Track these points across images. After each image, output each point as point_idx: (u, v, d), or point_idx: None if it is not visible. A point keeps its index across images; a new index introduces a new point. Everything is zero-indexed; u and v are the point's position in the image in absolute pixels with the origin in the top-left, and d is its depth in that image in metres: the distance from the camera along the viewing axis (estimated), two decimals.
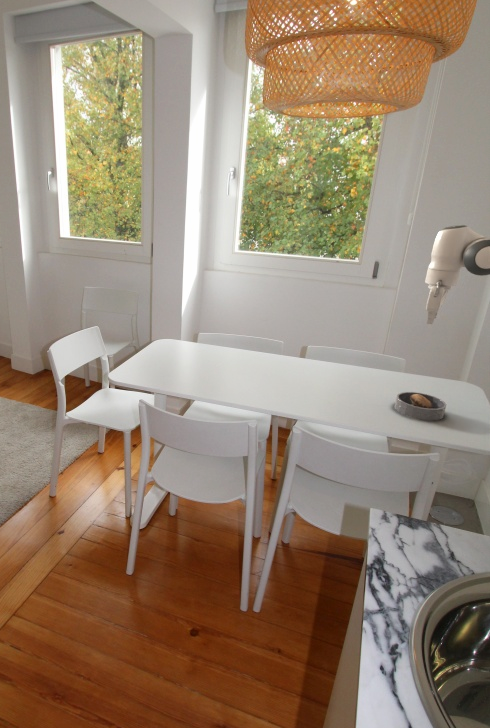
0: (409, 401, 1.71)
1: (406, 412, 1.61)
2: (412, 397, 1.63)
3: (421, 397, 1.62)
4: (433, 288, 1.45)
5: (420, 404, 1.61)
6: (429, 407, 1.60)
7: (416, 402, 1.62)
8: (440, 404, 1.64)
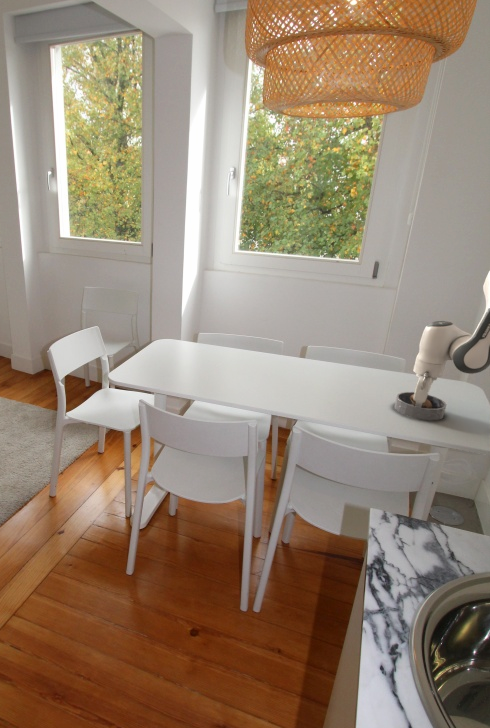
0: (409, 401, 1.71)
1: (406, 412, 1.61)
2: (412, 397, 1.63)
3: None
4: (420, 380, 1.54)
5: None
6: (429, 407, 1.60)
7: None
8: (440, 404, 1.64)
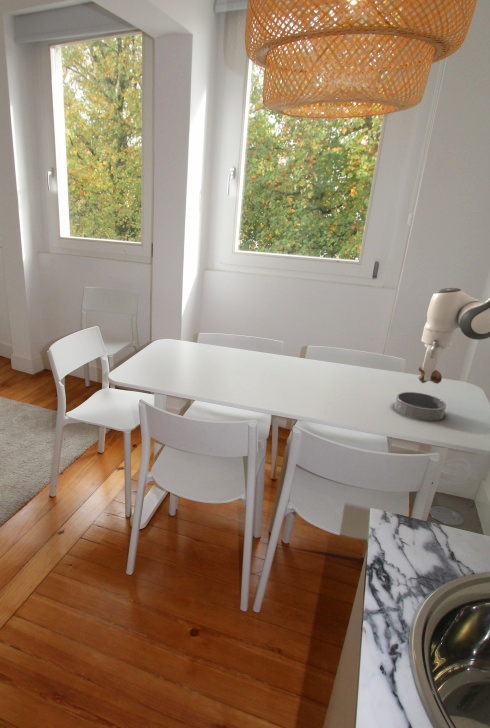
0: (409, 401, 1.71)
1: (406, 412, 1.61)
2: (421, 368, 1.59)
3: None
4: (429, 349, 1.50)
5: None
6: (439, 378, 1.56)
7: None
8: (440, 404, 1.64)
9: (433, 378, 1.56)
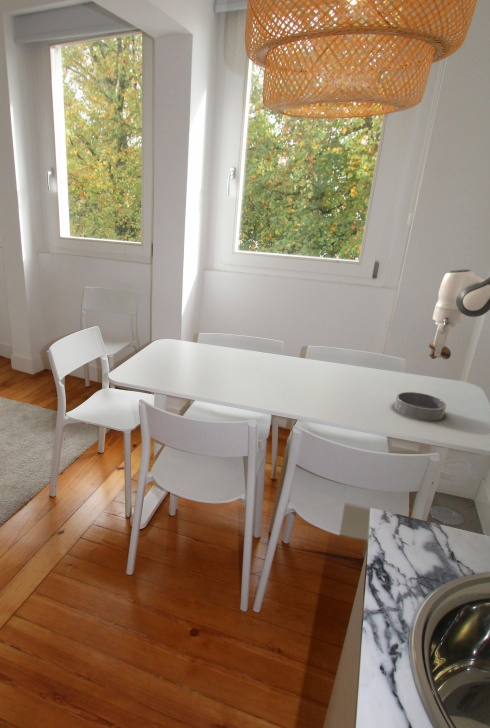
0: (409, 401, 1.71)
1: (406, 412, 1.61)
2: (431, 345, 1.70)
3: None
4: (440, 326, 1.61)
5: None
6: (448, 353, 1.67)
7: None
8: (440, 404, 1.64)
9: (443, 354, 1.67)
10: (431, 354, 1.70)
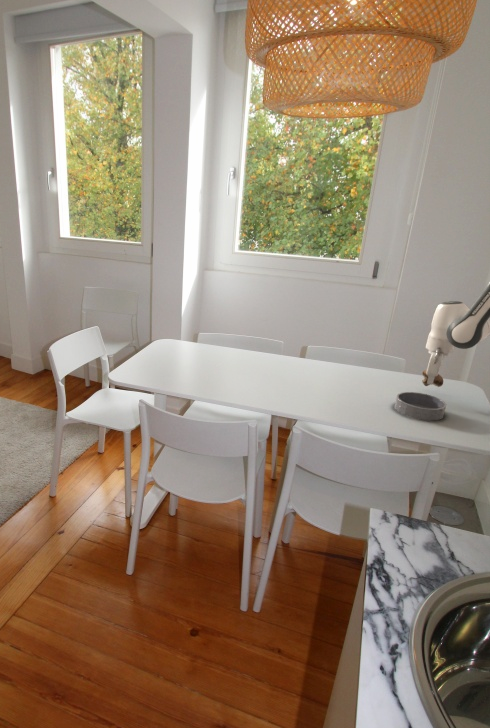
0: (409, 401, 1.71)
1: (406, 412, 1.61)
2: (424, 372, 1.75)
3: None
4: (433, 355, 1.66)
5: None
6: (441, 381, 1.72)
7: None
8: (440, 404, 1.64)
9: (435, 382, 1.72)
10: (424, 381, 1.75)
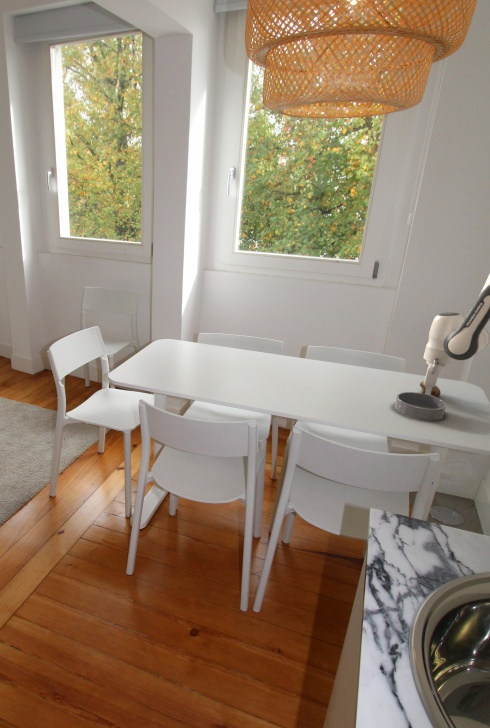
0: (409, 401, 1.71)
1: (406, 412, 1.61)
2: (422, 384, 1.77)
3: None
4: (430, 366, 1.67)
5: None
6: (438, 393, 1.74)
7: None
8: (440, 404, 1.64)
9: (433, 393, 1.74)
10: None
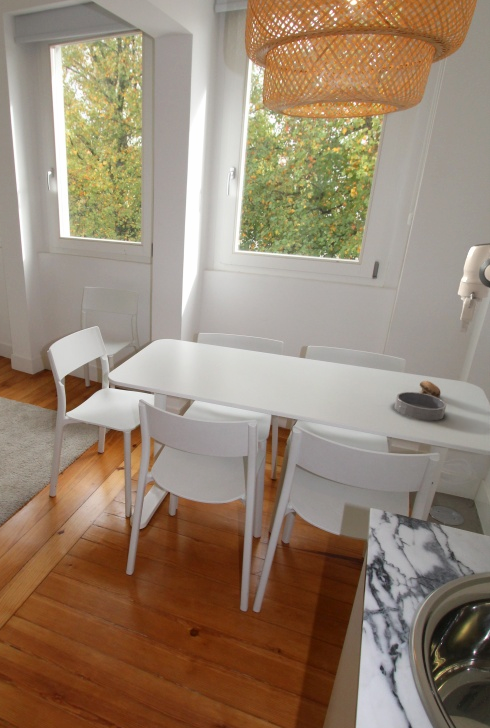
0: (409, 401, 1.71)
1: (406, 412, 1.61)
2: (422, 384, 1.77)
3: (430, 384, 1.75)
4: (467, 300, 1.59)
5: (430, 390, 1.74)
6: (438, 393, 1.74)
7: (426, 388, 1.75)
8: (440, 404, 1.64)
9: (433, 393, 1.74)
10: None
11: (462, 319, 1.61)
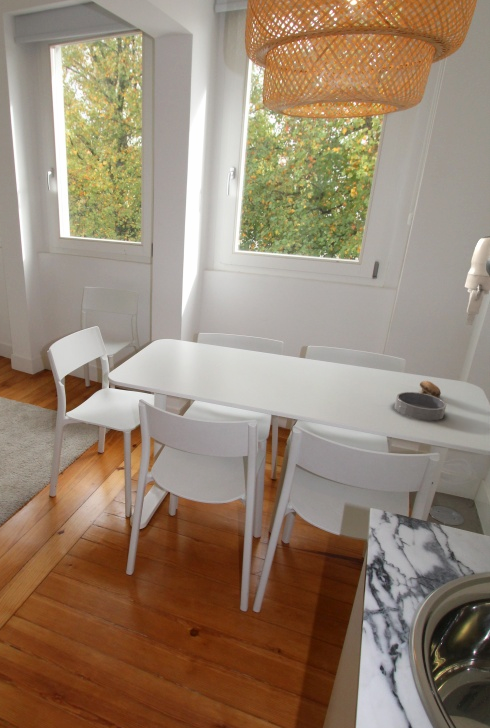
0: (409, 401, 1.71)
1: (406, 412, 1.61)
2: (422, 384, 1.77)
3: (430, 384, 1.75)
4: (474, 292, 1.58)
5: (430, 390, 1.74)
6: (438, 393, 1.74)
7: (426, 388, 1.75)
8: (440, 404, 1.64)
9: (433, 393, 1.74)
10: None
11: (468, 311, 1.60)
